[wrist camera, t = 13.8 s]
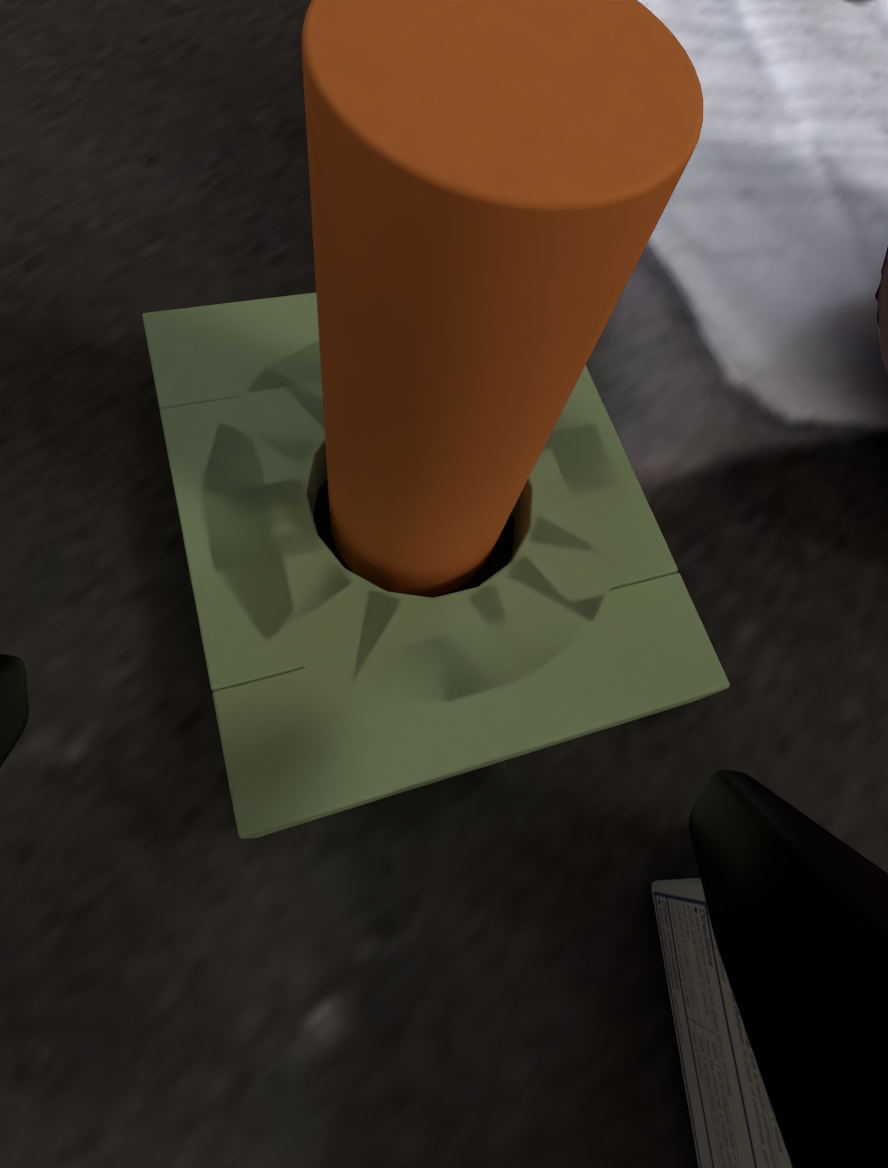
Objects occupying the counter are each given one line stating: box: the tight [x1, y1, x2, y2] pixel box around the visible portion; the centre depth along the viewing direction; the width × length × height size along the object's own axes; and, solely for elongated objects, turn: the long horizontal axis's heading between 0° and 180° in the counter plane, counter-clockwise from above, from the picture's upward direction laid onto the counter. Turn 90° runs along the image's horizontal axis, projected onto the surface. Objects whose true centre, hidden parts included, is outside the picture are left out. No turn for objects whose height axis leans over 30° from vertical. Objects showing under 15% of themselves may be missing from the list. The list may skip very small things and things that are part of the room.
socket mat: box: [142, 293, 730, 839], centre depth 18 cm, size 14×12×2 cm
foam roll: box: [301, 0, 703, 597], centre depth 13 cm, size 5×5×12 cm
